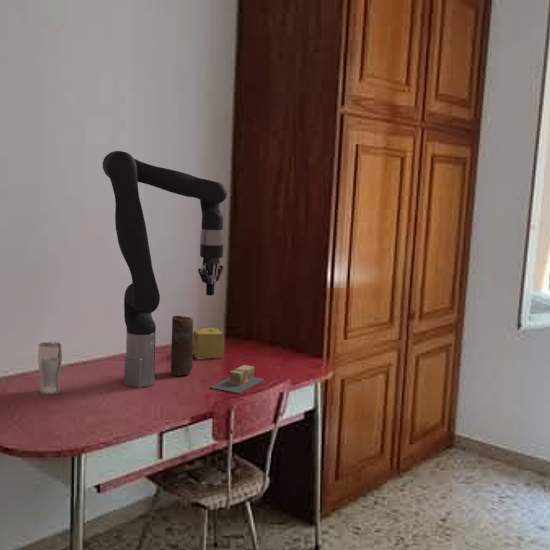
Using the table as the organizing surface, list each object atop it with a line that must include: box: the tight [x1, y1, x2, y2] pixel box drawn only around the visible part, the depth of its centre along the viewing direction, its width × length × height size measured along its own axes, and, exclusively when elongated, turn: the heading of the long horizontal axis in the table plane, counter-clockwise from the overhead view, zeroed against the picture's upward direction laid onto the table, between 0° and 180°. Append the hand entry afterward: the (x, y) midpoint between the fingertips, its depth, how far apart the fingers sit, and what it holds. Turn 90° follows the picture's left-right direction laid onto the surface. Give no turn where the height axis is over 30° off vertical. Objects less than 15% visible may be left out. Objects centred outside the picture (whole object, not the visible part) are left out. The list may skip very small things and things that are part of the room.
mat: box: [209, 376, 265, 395], centre depth 238 cm, size 18×11×1 cm, turn 155°
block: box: [229, 364, 255, 385], centre depth 240 cm, size 4×4×10 cm
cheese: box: [192, 327, 225, 360], centre depth 272 cm, size 10×11×10 cm
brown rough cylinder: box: [170, 315, 194, 377], centre depth 245 cm, size 8×7×20 cm
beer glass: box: [37, 341, 63, 395], centre depth 220 cm, size 7×7×15 cm
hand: (210, 294), depth 237 cm, fingers closed
